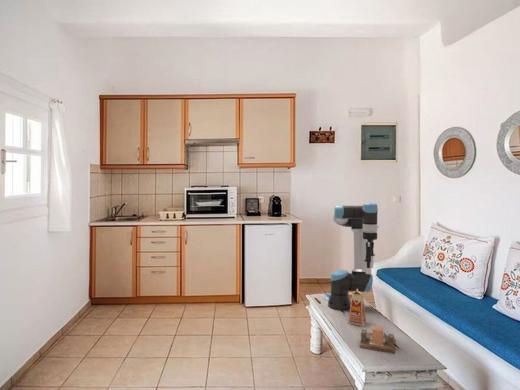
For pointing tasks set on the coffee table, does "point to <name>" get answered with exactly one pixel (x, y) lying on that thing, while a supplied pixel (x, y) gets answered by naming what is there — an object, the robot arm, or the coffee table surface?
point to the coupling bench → (386, 347)
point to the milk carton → (357, 309)
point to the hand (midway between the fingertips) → (369, 270)
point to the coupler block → (377, 335)
